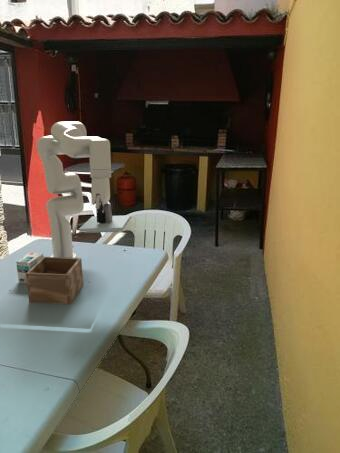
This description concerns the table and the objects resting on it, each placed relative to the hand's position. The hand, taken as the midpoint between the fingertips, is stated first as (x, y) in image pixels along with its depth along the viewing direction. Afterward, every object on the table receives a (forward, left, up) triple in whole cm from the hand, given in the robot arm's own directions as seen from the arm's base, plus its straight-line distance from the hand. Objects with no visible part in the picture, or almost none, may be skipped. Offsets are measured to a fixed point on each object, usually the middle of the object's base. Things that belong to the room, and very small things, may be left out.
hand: (102, 220), depth 134 cm
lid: (0, +1, -2) cm, 2 cm away
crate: (+4, -19, -31) cm, 37 cm away
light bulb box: (-8, -35, -31) cm, 48 cm away
